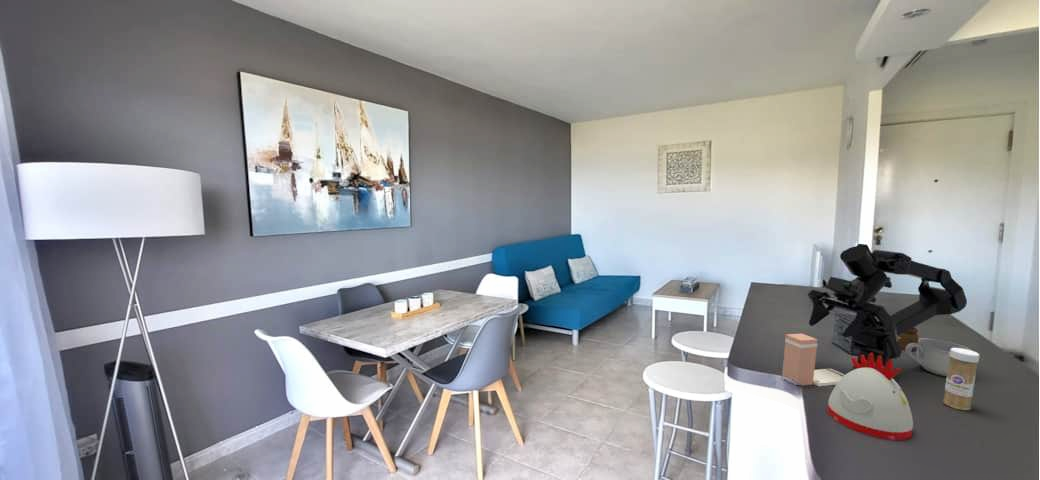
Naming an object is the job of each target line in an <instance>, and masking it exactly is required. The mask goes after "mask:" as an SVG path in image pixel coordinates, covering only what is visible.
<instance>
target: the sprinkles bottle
mask: <svg viewBox="0 0 1040 480" xmlns="http://www.w3.org/2000/svg"><path fill="white" fill-rule="evenodd" d="M971 350H972V349H970V350H967V349H962V348H951V349H950V354H949V356H950V362H949V368H948V374H947V376H946V379H945V386H944V395H943V399H942V402H943V404H944V405H946V406H948V407H950V408H952V409H956V410H958V411H970V410H971V409H972V406H971V405H972V399H973V398H972V397H973V396H974V395H973V394H974V389H975V388H974V387H975V382H976V374H977V373H976V372H977V367H978V366H977V365H978V364H979V362H980V353H978V352H976V351H974V350H972V351H971Z"/></svg>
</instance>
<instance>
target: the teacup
mask: <svg viewBox="0 0 1040 480" xmlns="http://www.w3.org/2000/svg"><path fill="white" fill-rule="evenodd" d="M913 347H917V349H916V354H915V355H914V354H913V352H912V351H911V349H912V348H913ZM951 348H962V349H967V350H971V351H973V350H972V349H970V348H969V347H967V346H965V345H962V344H959V343H955V342H952V341H948V340H943V339H937V338H927V337H923V338H922V337H921V338H918V344H917V343H910V344H908V345H907V346H906V349H905V350H904V351H905V353H906V354H907V356H909V358H912V360H914V361H915V362H916V363H917V364H919V365H920V366H921V367H922V368H923V369H924V370H926V371H928V372H929V373H933V374H935V375H939V376H943V377H947V374H948V368H949V362H950V356H949V354H950V349H951Z"/></svg>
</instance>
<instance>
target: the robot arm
mask: <svg viewBox="0 0 1040 480" xmlns="http://www.w3.org/2000/svg"><path fill="white" fill-rule="evenodd" d="M839 257H840V260H841V261H842V263H843V264H844V265H845V267H846V268H847V270H848V272H850V273H851V275H853V276H856V277H855V278H854V279H852V280H847V279H844V278H840V277H835V276H830V277H829V279H828V281H827V283H826V285H825V289H827V290H830V291H832V292H833V293H832V295H834V297H835V298H837V299H835V298H832V297H831V295H830V294H829V293H828V292H827V291H823V290H819V289H811V290H810V292H808V294H807V297H808V298H809V300H810V301H811V303H812V304H813V308H812V311H811V312H812V313H811V315H810V318H809V321H808V324H809V326H810V327H813V326H815V325H817V324H818V323H820V321H822V320H823V319H825V318H826V317H827V316H828V315H830V314H831V312H830V311H832V310H834V309H835V308H837V309H841V310H843V311H847V312H851V313H855V315H856V318H855V319H854V320H853V321H852V323H851V324H850V325H849V326H848V327H847V328H846V330H845V331H844V333H843V334H842V336H843V337H844V338H847V337H850V336H852V338H853V344H854V347H857V348H860V354H859V355H857V359H856V360H857V362H858V363H859V364H860V365H861V360H860V355H864V357H865V359H866V360H867V359H868V356H869V353H873V355H874V362H875V363H876V360H877V357H878V356H879V355H881V356H882V362H883V366H884V367H885V365H886V364H887V362H888V361H889V360H891V359H892V360H897V359H898V358H900V357H901V354H902V352H903V350H902V349H901V347H900V346H899V344H898V343H897V338H898V335H900V334H902V333H904V332H905V331H907V330H909V329H911V328H913V327H915V328H916V326H917V327H918V325H920V324H922V323H924V322H926V321H928V320H929V319H932V318H933V317H935V316H945V315H946V316H949V315H953V314H957V313H960V312H961V311H963V309H965V307H966V306H967V303H968V301H967V297H966V295H965V291H964V289H963V287H962V285H960V284H959V283H958V282H956V281H955V280H954V279H953V277H952V274H951V272H950V270H947V269H945V268H939V267H937V266H933V265H928V264H925V263H921V262H918V261H914V260H913V259H912V257H911V256H909V255H908V254H905V253H903V252H898V251H888V250H881V249H874V250H873V251H872V252H871V250H870V247H869V245H868V244H864V243H858V244H857V245H856V246H852V247H849V248H847V249H845V250H843V251H841V252H840V256H839ZM886 273H887V274H892V275H905V276H910V277H913V278H917V279H920V280H921V282H920V284H919V286H918V288H917V290H918V293H919V294H918V300H917V301H916V302H914V303H911V304H910V305H907V306H906V307H904V308H903V309H900V310H898V311H897V312H895V313H893V314H889V312H888V311H887V310H886V308H885V307H884V306H883V305H879V304H875V303H876V301H877V298H876V296H877V294H878V293H879V292H880V291H881V290H882V289H883V288H888V289H892V288H893V283H892V281H891V277H889V276H887V274H886ZM930 282H931V283H932V282H933V283H938V284H940V286H941V287H942V288H939V287H933V286H931V285H930V284H929V283H930ZM852 368H853V370H855V367H854V365H853V367H852ZM893 379H894V380H895V379H896V375H895V376H894V377H893Z"/></svg>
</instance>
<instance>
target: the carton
mask: <svg viewBox="0 0 1040 480" xmlns="http://www.w3.org/2000/svg"><path fill="white" fill-rule="evenodd" d="M817 347H818V339H817V338H815V337H812V336H809V335H807V334H804V333H788V334H785V339H784V352H783V363H782V374H781V377H782V376H784V377H787V378H790V379H793V380H795V381H796V382H798V383H799V384H801V385H802V386H811V385H812V386H813V385H814V384H813V379H814V370H816V369H815V367H816V359H817Z"/></svg>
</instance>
